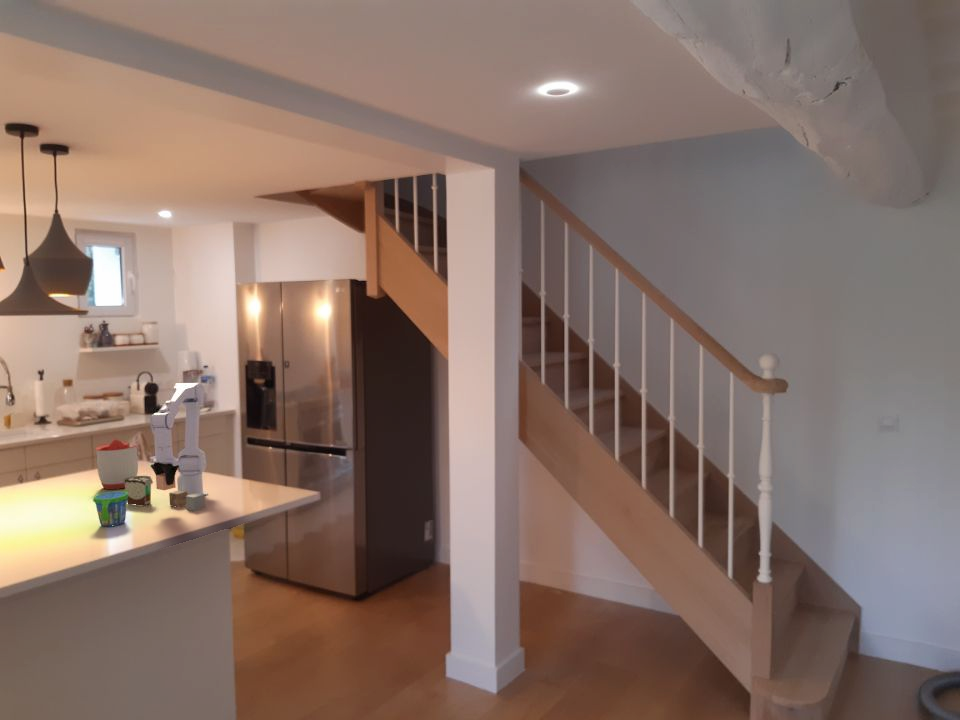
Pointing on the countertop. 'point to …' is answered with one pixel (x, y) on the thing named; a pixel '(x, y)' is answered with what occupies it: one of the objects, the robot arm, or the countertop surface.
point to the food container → (138, 489)
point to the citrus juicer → (116, 463)
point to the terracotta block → (163, 482)
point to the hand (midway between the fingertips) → (165, 483)
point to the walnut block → (178, 498)
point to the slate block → (195, 501)
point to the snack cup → (111, 507)
